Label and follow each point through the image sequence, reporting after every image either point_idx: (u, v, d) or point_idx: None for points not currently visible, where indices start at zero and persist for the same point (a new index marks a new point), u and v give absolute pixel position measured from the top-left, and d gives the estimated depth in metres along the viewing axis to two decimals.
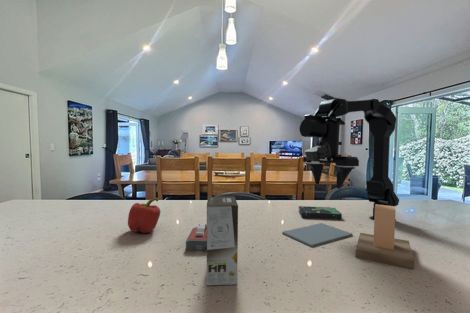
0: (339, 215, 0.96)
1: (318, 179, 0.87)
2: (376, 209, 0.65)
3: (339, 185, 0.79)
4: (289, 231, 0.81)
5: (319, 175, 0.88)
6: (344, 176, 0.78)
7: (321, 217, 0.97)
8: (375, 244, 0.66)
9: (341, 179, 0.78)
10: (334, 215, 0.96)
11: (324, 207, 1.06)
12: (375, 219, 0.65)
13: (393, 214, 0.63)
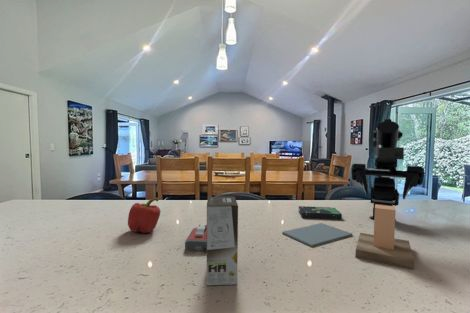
0: (339, 215, 0.96)
1: (367, 190, 0.76)
2: (376, 209, 0.65)
3: (406, 194, 0.71)
4: (289, 231, 0.81)
5: None
6: (408, 189, 0.73)
7: (321, 217, 0.96)
8: (375, 244, 0.66)
9: (408, 189, 0.72)
10: (334, 215, 0.96)
11: (324, 207, 1.06)
12: (375, 219, 0.65)
13: (393, 214, 0.63)
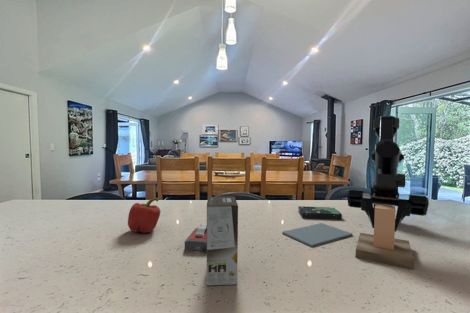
0: (339, 215, 0.96)
1: None
2: (376, 209, 0.65)
3: (397, 227, 0.64)
4: (289, 231, 0.81)
5: None
6: (400, 219, 0.66)
7: (321, 217, 0.96)
8: (375, 244, 0.66)
9: (400, 220, 0.65)
10: (334, 215, 0.96)
11: (324, 207, 1.06)
12: (375, 219, 0.65)
13: (393, 214, 0.63)
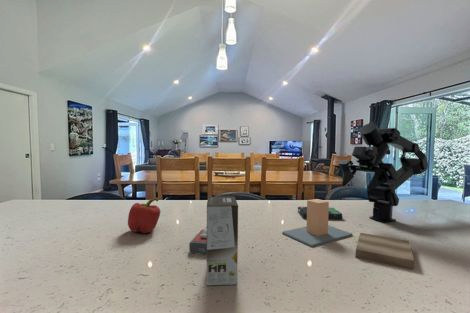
0: (340, 215, 0.96)
1: (346, 182, 0.91)
2: (308, 201, 0.79)
3: (370, 187, 0.82)
4: (289, 231, 0.81)
5: (347, 180, 0.92)
6: (377, 183, 0.83)
7: None
8: (307, 230, 0.80)
9: (374, 183, 0.82)
10: (335, 215, 0.96)
11: None
12: (307, 210, 0.80)
13: (317, 206, 0.76)
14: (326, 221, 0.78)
